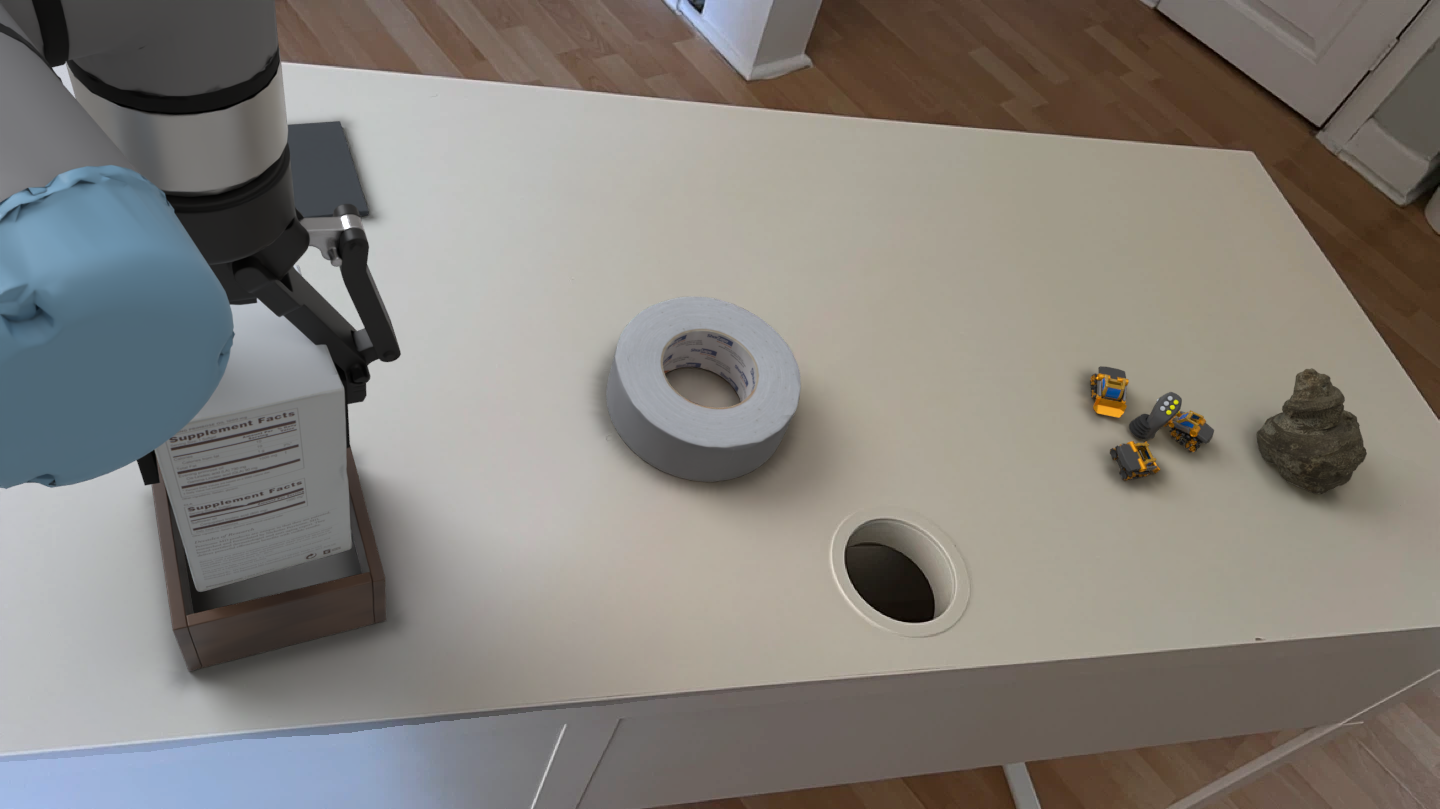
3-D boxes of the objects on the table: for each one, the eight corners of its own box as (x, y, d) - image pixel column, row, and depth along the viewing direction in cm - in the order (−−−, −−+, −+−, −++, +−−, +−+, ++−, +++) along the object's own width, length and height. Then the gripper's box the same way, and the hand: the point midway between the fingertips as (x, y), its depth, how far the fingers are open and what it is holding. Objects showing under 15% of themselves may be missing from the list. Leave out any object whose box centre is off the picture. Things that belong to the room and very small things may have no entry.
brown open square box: (188, 672, 66) (172, 630, 62) (162, 498, 73) (146, 449, 68) (386, 621, 71) (385, 578, 67) (345, 462, 78) (342, 414, 73)
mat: (138, 239, 86) (136, 234, 85) (122, 141, 91) (121, 135, 91) (368, 215, 93) (368, 210, 92) (340, 125, 99) (340, 120, 98)
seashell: (1338, 354, 103) (1256, 354, 100) (1448, 396, 92) (1361, 397, 89) (1304, 462, 107) (1224, 465, 103) (1406, 514, 96) (1321, 518, 93)
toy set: (1052, 437, 96) (1078, 405, 92) (1095, 368, 103) (1121, 336, 99) (1170, 515, 93) (1201, 486, 90) (1206, 439, 100) (1236, 409, 97)
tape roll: (796, 487, 86) (814, 452, 82) (607, 477, 82) (618, 439, 78) (773, 341, 95) (789, 303, 91) (603, 327, 91) (612, 286, 87)
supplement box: (163, 469, 67) (109, 286, 54) (314, 433, 71) (297, 255, 58) (196, 598, 63) (146, 432, 50) (356, 552, 67) (347, 387, 54)
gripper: (435, 72, 51) (424, 366, 68) (-132, 98, 42) (20, 431, 59) (478, 178, 47) (454, 461, 64) (-135, 232, 38) (29, 546, 55)
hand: (247, 446), depth 61 cm, fingers closed on supplement box, 9 cm apart
